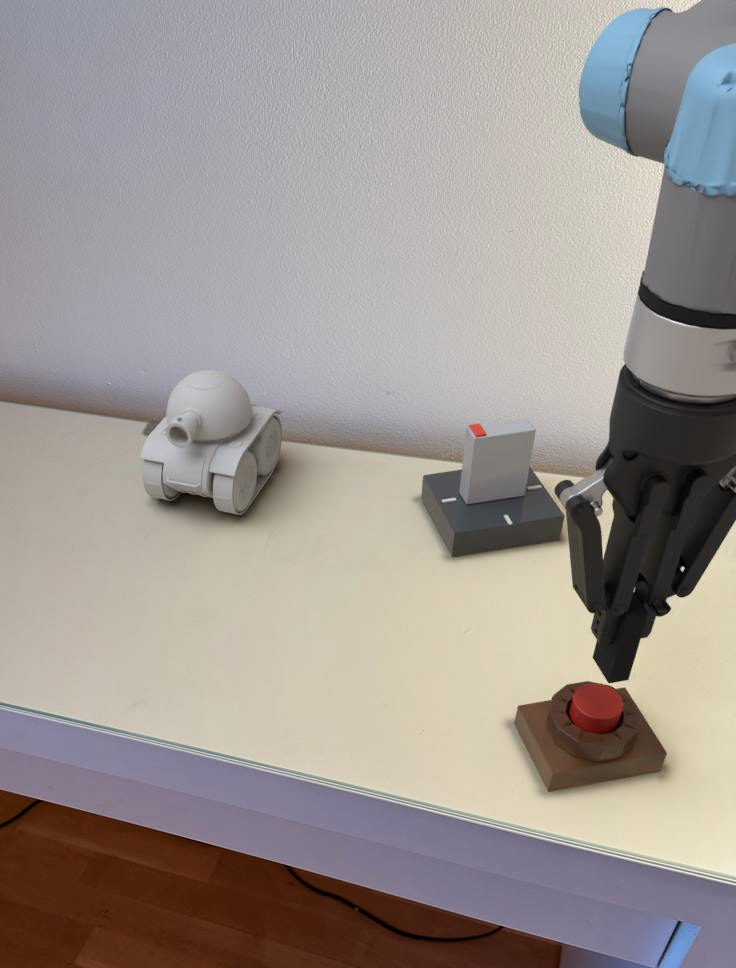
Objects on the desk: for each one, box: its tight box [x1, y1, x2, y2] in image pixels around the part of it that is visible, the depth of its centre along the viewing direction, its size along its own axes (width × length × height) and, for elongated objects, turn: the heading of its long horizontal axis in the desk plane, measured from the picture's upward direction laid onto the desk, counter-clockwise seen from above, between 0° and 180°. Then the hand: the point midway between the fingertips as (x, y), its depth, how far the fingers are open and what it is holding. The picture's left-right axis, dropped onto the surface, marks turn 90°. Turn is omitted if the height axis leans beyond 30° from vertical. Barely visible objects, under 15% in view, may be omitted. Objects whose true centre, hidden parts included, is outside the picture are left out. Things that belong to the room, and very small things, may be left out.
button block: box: [513, 680, 668, 792], centre depth 74 cm, size 9×7×4 cm
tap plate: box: [420, 466, 566, 558], centre depth 96 cm, size 11×10×3 cm
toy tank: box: [139, 369, 283, 516], centre depth 100 cm, size 15×11×13 cm
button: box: [570, 683, 623, 734], centre depth 72 cm, size 4×4×2 cm
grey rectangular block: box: [459, 417, 536, 504], centre depth 92 cm, size 6×2×8 cm, turn 100°
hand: (610, 668), depth 69 cm, fingers closed
